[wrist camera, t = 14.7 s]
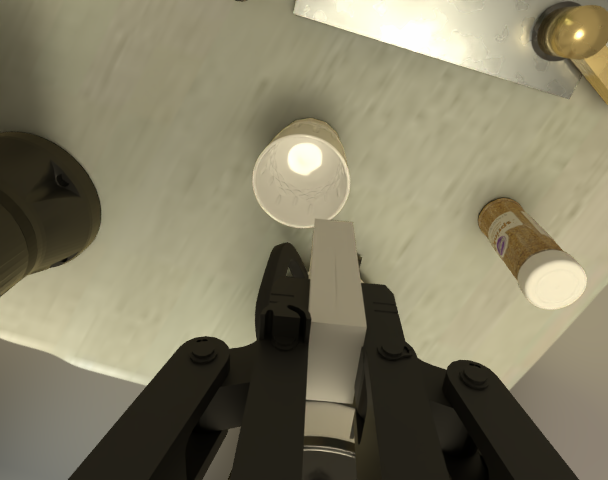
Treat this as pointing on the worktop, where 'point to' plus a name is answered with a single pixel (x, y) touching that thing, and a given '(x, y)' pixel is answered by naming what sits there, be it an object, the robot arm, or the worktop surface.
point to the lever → (579, 41)
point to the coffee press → (318, 414)
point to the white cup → (302, 174)
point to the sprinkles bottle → (532, 255)
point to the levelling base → (462, 34)
